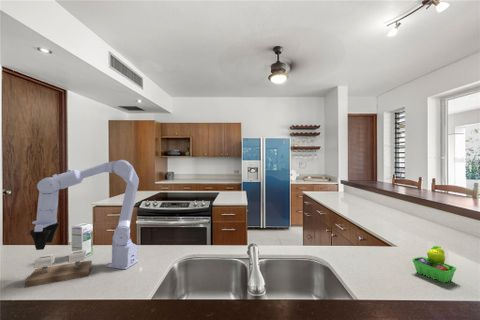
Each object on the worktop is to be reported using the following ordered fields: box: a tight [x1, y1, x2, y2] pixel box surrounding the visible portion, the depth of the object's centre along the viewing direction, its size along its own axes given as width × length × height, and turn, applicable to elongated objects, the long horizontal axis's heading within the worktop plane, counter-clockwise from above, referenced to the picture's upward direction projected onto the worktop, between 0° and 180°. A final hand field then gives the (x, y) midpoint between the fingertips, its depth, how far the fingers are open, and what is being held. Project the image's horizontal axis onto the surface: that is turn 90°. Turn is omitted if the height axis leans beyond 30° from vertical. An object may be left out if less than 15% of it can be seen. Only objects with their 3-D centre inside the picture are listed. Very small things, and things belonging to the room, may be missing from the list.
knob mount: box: [24, 260, 93, 288], centre depth 85 cm, size 18×10×4 cm, turn 117°
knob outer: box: [34, 253, 56, 269], centre depth 82 cm, size 5×5×3 cm
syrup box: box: [71, 222, 94, 258], centre depth 102 cm, size 6×6×14 cm
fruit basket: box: [411, 245, 457, 284], centre depth 86 cm, size 11×9×11 cm
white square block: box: [68, 250, 87, 264], centre depth 87 cm, size 5×5×3 cm
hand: (44, 245), depth 83 cm, fingers open, 7 cm apart
